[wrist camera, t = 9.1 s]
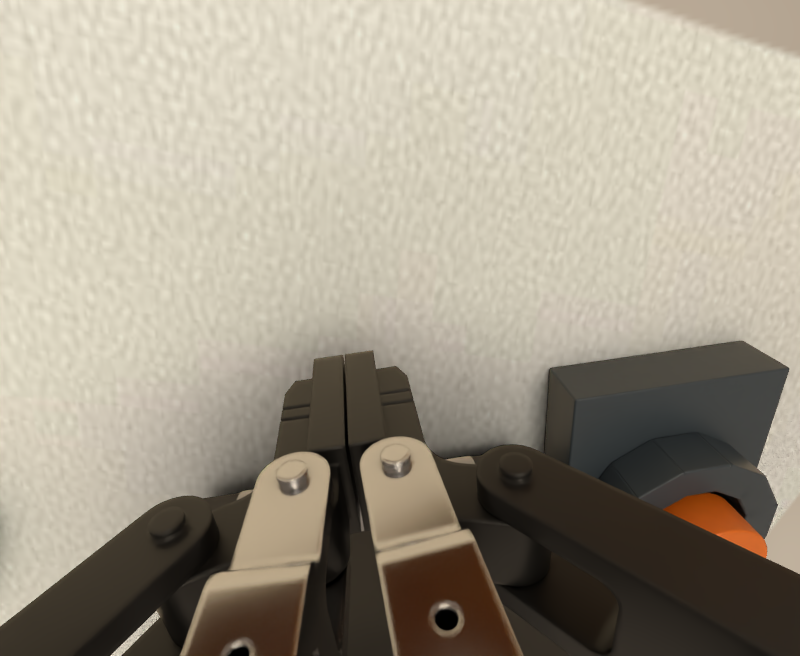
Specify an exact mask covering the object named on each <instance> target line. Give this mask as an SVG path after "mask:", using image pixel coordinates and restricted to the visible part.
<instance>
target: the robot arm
mask: <svg viewBox="0 0 800 656" xmlns="http://www.w3.org/2000/svg"><path fill="white" fill-rule="evenodd" d="M360 510H361V515H362V520H363V526H364V531H371V533H372V539H373V545H374V551H375V556H376V562H377V568H378V573H379V579H380V584H381V590H382V596H383V601H384V607H385V613H386V618H387V624H388V629H389V635H390V641H391V646H392V652H393V656H523V653H522V651H521V648H520V646H519V644H518V641H517V639H516V636H515V634H514V632H513V629H512V627H511V624H510V622H509V620H508V617H507V615H506V612H505V610H504V607H503V605H504V606H506V607H507V608H508V609H510V610H511V611H512V612H514V613H515V614H516V615H518V616H519V617H520V618H522V619H523V620H524V621H526V622H527V623H528V624H530V625H531V626H532V627H534V628H535V629H536V630H538V631H539V632H540V633H542V634H543V635H544V636H546V637H547V638H548V639H550V640H551V641H552V642H554V643H555V644H556V645H558V646H559V647H560V648H562V649H563V650H564V651H565V652H567V653H568V654H569V655H571V656H800V574H798V573H796V572H794V571H792V570H789V569H787V568H785V567H783V566H781V565H779V564H777V563H775V562H772V561H770V560H768V559H766V558H764V557H762V556H760V555H758V554H756V553H753V552H751V551H749V550H747V549H745V548H743V547H741V546H739V545H736V544H734V543H732V542H730V541H728V540H726V539H724V538H722V537H720V536H717V535H715V534H713V533H711V532H709V531H707V530H705V529H703V528H700V527H698V526H696V525H694V524H692V523H690V522H688V521H686V520H684V519H681V518H679V517H677V516H675V515H673V514H671V513H669V512H667V511H664V510H662V509H660V508H658V507H656V506H654V505H652V504H650V503H648V502H645V501H643V500H641V499H639V498H637V497H635V496H633V495H631V494H628V493H626V492H624V491H622V490H620V489H618V488H616V487H614V486H612V485H609V484H607V483H605V482H603V481H601V480H599V479H597V478H595V477H592V476H590V475H588V474H586V473H584V472H582V471H580V470H578V469H576V468H573V467H571V466H569V465H567V464H565V463H563V462H561V461H559V460H556V459H554V458H552V457H550V456H548V455H546V454H544V453H542V452H540V451H537V450H535V449H533V448H530V447H527V446H522V445H502V446H497V447H495V448H492V449H490V450H488V451H487V452H485V453H484V454H483V455H482V456H481V457H480V459H479V460H478V463H477V464H466V463H457V462H452V461H448V460H445V459H443V458H440V457H439V456H437V455H435V454H434V453H433V452H431V450H430V449H429V448H428V447H427V445H426V444H425V441H424V438H423V434H422V430H421V426H420V423H419V419H418V415H417V411H416V407H415V404H414V401H413V396H412V392H411V389H410V385H409V381H408V377H407V375H406V374H404V373H403V372H402V371H401V370H400V369H399V368H398V367H396V366H394V367H388V368H381V369H376V367H375V361H374V354H373V350H372V351H365V352H358V353H351V354H345V362H344V357H343V355H338V356H331V357H325V358H318V359H314V364H313V377H312V379H307V380H301V381H295V383H294V384H293V385H292V386H291V388H290V389H289V390H288V391H287V392H286V394H285V398H284V404H283V411H282V415H281V422H280V427H279V433H278V439H277V445H276V451H275V457H274V461H273V462H271V463H270V464H268V465H267V466H266V467H265V468H264V469H263V470H262V471H261V473H260V474H259V476H258V478H257V480H256V483H255V487H254V490H253V491H252V492H251V493H249V494H248V495H246V496H244V497H242V498H240V499H238V500H236V501H233V502H231V503H228V504H226V505H224V506H221V507H219V508H216V509H214V510H211V508H210V505H209V504H208V502H207V501H205V500H204V499H202V498H200V497H196V496H181V497H176V498H172V499H170V500H167V501H164V502H162V503H160V504H158V505H156V506H155V507H153V508H151V509H150V510H148V511H147V512H146V513H144V514H143V515H142V516H141V517H139V518H138V519H137V520H135V521H134V522H133V523H132V524H130V525H129V526H128V527H127V528H125V529H124V530H123V531H121V532H120V533H119V534H118V535H116V536H115V537H114V538H113V539H111V540H110V541H109V542H107V543H106V544H105V545H104V546H102V547H101V548H100V549H99V550H97V551H96V552H95V553H93V554H92V555H91V556H90V557H88V558H87V559H86V560H85V561H83V562H82V563H81V564H79V565H78V566H77V567H76V568H74V569H73V570H72V571H71V572H69V573H68V574H67V575H65V576H64V577H63V578H62V579H60V580H59V581H58V582H57V583H55V584H54V585H53V586H51V587H50V588H49V589H48V590H46V591H45V592H44V593H43V594H41V595H40V596H39V597H38V598H36V599H35V600H34V601H32V602H31V603H30V604H29V605H27V606H26V607H25V608H24V609H22V610H21V611H20V612H18V613H17V614H16V615H15V616H13V617H12V618H11V619H10V620H8V621H7V622H6V623H4V624H3V625H2V626H1V627H0V656H110V655H111V654H112V653H113V652H114V651H115V650H116V649H117V648H118V647H119V646H120V645H121V644H122V643H123V642H125V641H126V640H127V639H128V638H129V637H130V636H131V635H132V634H133V633H134V632H135V631H136V630H137V629H138V628H139V627H140V626H141V625H142V624H143V623H144V622H145V621H146V620H147V619H148V618H149V617H150V616H151V615H152V614H153V613H154V612H155V611H156V610H157V612H158V614H159V616H160V618H159V619H158V620H157V621H156V622H155V623H154V624H153V625H152V626H151V627H150V628H149V629H148V630H147V631H146V632H145V633H144V634H143V635H142V636H141V637H140V638H139V639H138V640H137V641H136V642H135V643H134V644H133V645H132V646H131V647H130V648H129V649H128V650H127V651H126V652H125V653H124V654H123V655H122V656H347V647H348V627H349V606H350V585H351V564H350V560H349V558H350V551H351V550H350V534H355V533H361V518H360ZM502 604H503V605H502Z"/></svg>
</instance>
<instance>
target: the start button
mask: <svg viewBox="0 0 800 656" xmlns="http://www.w3.org/2000/svg"><path fill="white" fill-rule="evenodd" d="M663 510H664V511H667V512H669V513H671V514H673V515H675V516H677V517H679V518H681V519H684V520H686V521H688V522H690V523H692V524H694V525H696V526H698V527H700V528H703V529H705V530H707V531H709V532H711V533H713V534H715V535H717V536H720V537H722V538H724V539H726V540H728V541H730V542H732V543H734V544H736V545H739V546H741V547H743V548H745V549H747V550H749V551H751V552H753V553H756V554H758V555H760V556H762V557H764V558H766V556H767V546H766V543H765V540H764V539H763V537H762V536H761V535H760V534H759V533H758V532H757V531H756V530H755V529H754V528H753V527H752V526H751V525H750V524H749V523H748V522H747V521H746V520H745V519H744V518H743V517H742V516H741V515H740V514H739V513H738V512H737V511H736V510H735V509H734V508H733V507H732V506H731V505H730V504H729V503H728V502H727V501H726V500H725V499H724V498H722V497H721V496H718V495H716V494H713V493H703V494H697V495H691V496H686V497H684V498H683V499H681V500H679V501H677V502H675V503H674V504H672V505H670V506H668V507H666V508H664V509H663Z"/></svg>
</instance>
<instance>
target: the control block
mask: <svg viewBox="0 0 800 656" xmlns="http://www.w3.org/2000/svg"><path fill="white" fill-rule="evenodd" d="M788 372H789V368H788V367H787V366H785V365H783V364H782V363H780V362H778V361H776V360H775V359H773V358H771V357H770V356H768V355H766V354H765V353H763V352H761V351H759V350H758V349H756V348H754V347H753V346H751V345H749V344H748V343H746V342H744V341H738V342H731V343H724V344H717V345H710V346H703V347H696V348H689V349H682V350H675V351H668V352H661V353H654V354H647V355H640V356H633V357H626V358H619V359H612V360H605V361H598V362H591V363H584V364H578V365H571V366H564V367H557V368H551V369H550V376H549V391H548V407H547V422H546V438H545V453H544V454H546V455H548V456H550V457H552V458H554V459H556V460H559V461H561V462H563V463H565V464H567V465H569V466H571V467H573V468H576V469H578V470H580V471H582V472H584V473H586V474H588V475H590V476H592V477H595V478H597V479H599V480H601V481H603V482H605V483H607V484H609V485H612V486H614V487H616V488H618V489H620V490H622V491H624V492H626V493H628V494H631V495H633V496H635V497H637V498H639V499H641V500H643V501H645V502H648V503H650V504H652V505H654V506H656V507H658V508H660V509H662V510H663V509H664V508H666V507H668V506H670V505H672V504H674V503H675V502H677V501H679V500H681V499H683V498H684V497H686V496H691V495H697V494H703V493H713V494H716V495H718V496H721V497H722V498H724V499H725V500H726V501H727V502H728V503H729V504H730V505H731V506H732V507H733V508H734V509H735V510H736V511H737V512H738V513H739V514H740V515H741V516H742V517H743V518H744V519H745V520H746V521H747V522H748V523H749V524H750V525H751V526H752V527H753V528H754V529H755V530H756V531H757V532H758V533H759V534H760V535H761V536H762V537H763V539H765V537H766V536H767V533H768V530H769V528H770V525H771V522H772V520H773V517H774V514H775V511H776V509H777V506H778V504H777V502H776V499H775V497H774V494H773V492H772V490H771V487H770V485H769V483H768V480H767V478H766V476H765V475H764V474H763V473H762V472H761V471H759V470H758V469H757V466H758V463H759V460H760V457H761V454H762V451H763V448H764V445H765V442H766V439H767V436H768V433H769V430H770V427H771V424H772V421H773V418H774V415H775V412H776V409H777V406H778V403H779V399H780V396H781V393H782V390H783V387H784V384H785V381H786V378H787V375H788Z"/></svg>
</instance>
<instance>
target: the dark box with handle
mask: <svg viewBox="0 0 800 656" xmlns="http://www.w3.org/2000/svg"><path fill="white" fill-rule="evenodd" d="M481 456H482V455H480V456H473V457H471V456H465V457H458V458H452V459H446V460H448V461H452V462H457V463H466V464H477V463H478V460H479V459H480V457H481ZM253 490H254V489H253ZM253 490H246V491H242V492H241V493H236V494H229V495H223V496H217V497H210V498H204V500H205V501H207V502H208V504H209V505H210V508H211V510H214V509H216V508H219V507H221V506H224V505H226V504H228V503H231V502H233V501H236V500H238V499H240V498H242V497H244V496H246V495H248V494H249V493H251V492H252V491H253ZM360 518H361V533H355V534H350V550H351V551H350V558H349V560H350V564H351V585H350V606H349V627H348V647H347V656H393V652H392V646H391V641H390V635H389V629H388V624H387V618H386V613H385V607H384V601H383V596H382V590H381V584H380V579H379V573H378V568H377V562H376V556H375V551H374V545H373V539H372V533H371V531H364V526H363V520H362V515H361V510H360ZM502 605H503V604H502ZM503 607H504V610H505V612H506V615H507V617H508V620H509V622H510V624H511V627H512V629H513V632H514V634H515V636H516V639H517V641H518V644H519V646H520V648H521V651H522V653H523V656H571V655H569V654H568V653H567V652H565V651H564V650H563V649H562V648H560V647H559V646H558V645H556V644H555V643H554V642H552V641H551V640H550V639H548V638H547V637H546V636H544V635H543V634H542V633H540V632H539V631H538V630H536V629H535V628H534V627H532V626H531V625H530V624H528V623H527V622H526V621H524V620H523V619H522V618H520V617H519V616H518V615H516V614H515V613H514V612H512V611H511V610H510V609H508V608H507V607H506V606H504V605H503Z"/></svg>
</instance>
